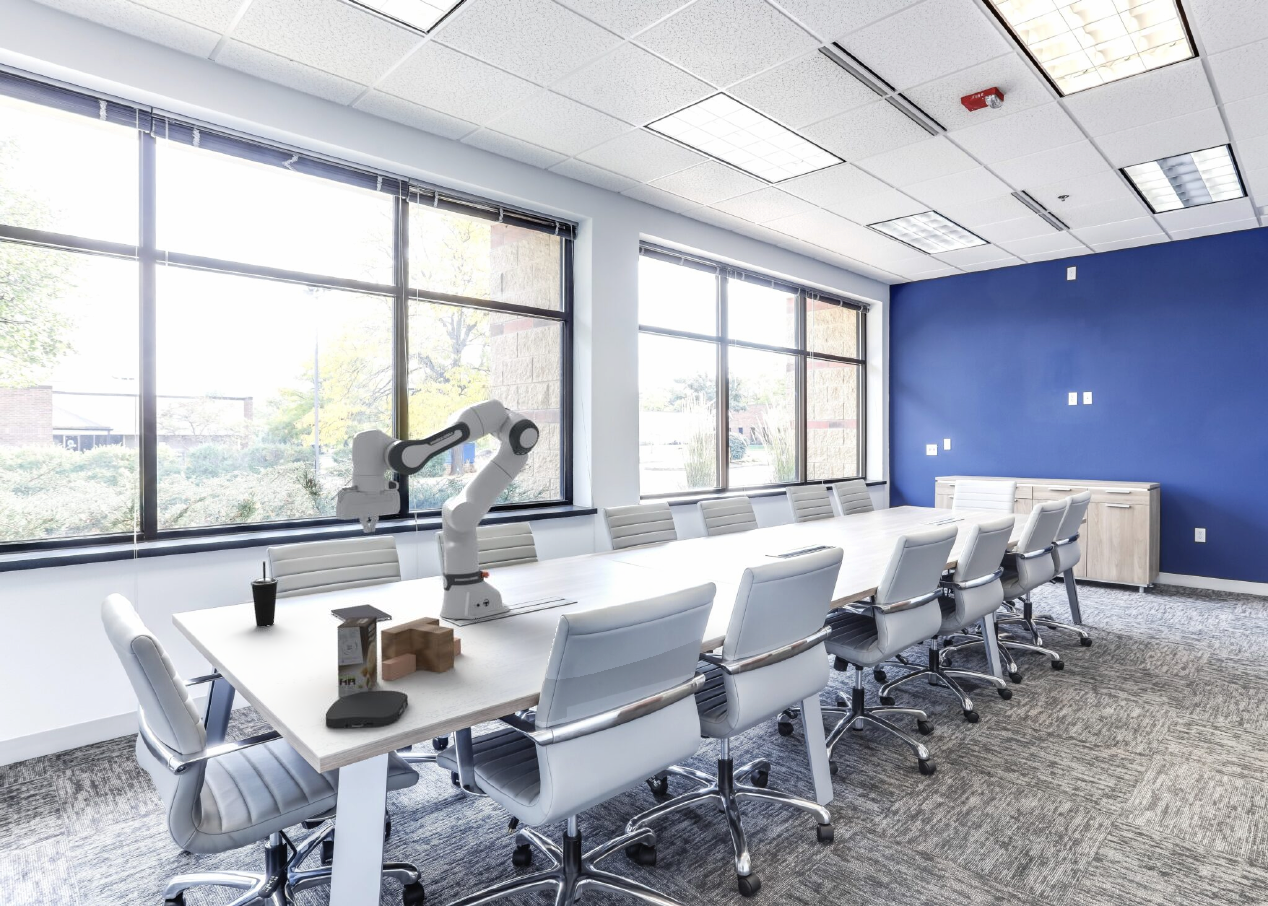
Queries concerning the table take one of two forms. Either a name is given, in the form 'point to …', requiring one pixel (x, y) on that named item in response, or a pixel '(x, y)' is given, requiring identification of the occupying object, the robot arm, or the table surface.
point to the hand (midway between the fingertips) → (369, 532)
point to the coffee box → (357, 655)
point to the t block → (420, 644)
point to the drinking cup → (264, 599)
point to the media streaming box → (367, 709)
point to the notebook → (360, 612)
